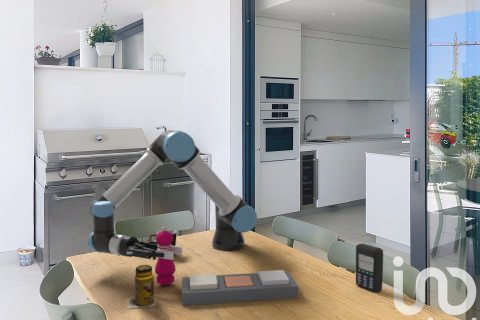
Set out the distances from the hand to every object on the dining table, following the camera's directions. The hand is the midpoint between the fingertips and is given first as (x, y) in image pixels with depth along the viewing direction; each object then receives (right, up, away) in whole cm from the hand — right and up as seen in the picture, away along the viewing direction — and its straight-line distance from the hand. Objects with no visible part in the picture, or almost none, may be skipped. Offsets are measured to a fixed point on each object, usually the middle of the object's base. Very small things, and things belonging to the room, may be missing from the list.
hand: (177, 253), depth 152 cm
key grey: (+34, -10, -3) cm, 35 cm away
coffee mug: (-11, -9, +39) cm, 41 cm away
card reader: (+67, -12, -2) cm, 68 cm away
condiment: (-10, -14, -11) cm, 20 cm away
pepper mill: (-5, -11, +3) cm, 12 cm away
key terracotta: (+22, -11, -4) cm, 25 cm away
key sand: (+10, -10, -6) cm, 15 cm away
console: (+22, -13, -4) cm, 25 cm away
